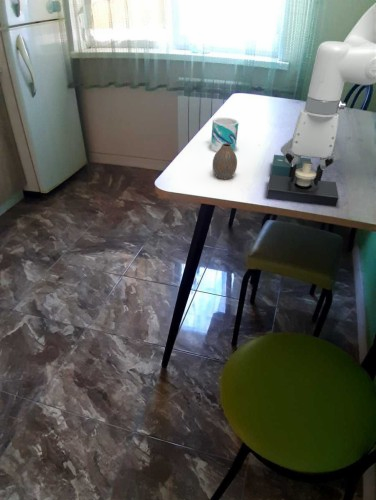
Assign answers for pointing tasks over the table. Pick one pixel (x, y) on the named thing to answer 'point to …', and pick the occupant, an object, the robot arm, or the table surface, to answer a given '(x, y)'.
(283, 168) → the panel
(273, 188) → the black plate with hole
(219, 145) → the mug
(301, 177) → the stopper
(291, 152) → the tap knob
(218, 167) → the vase
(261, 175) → the table surface
